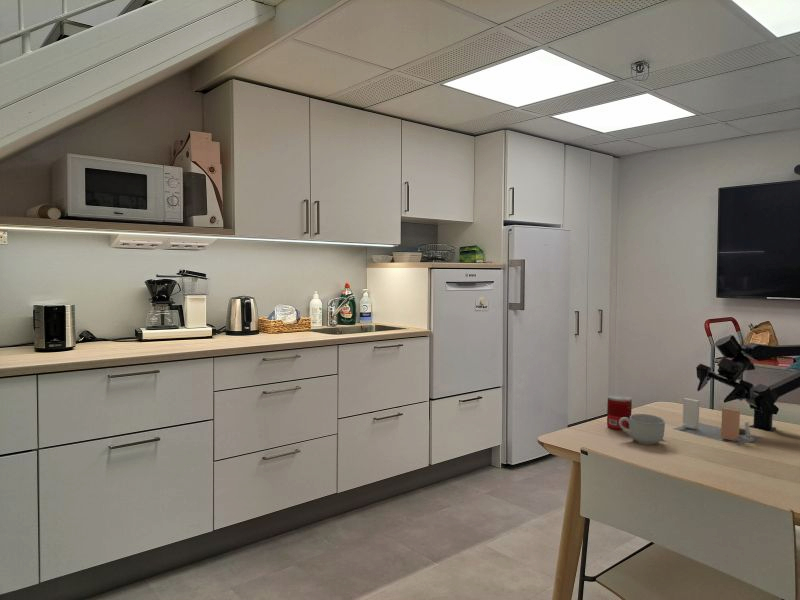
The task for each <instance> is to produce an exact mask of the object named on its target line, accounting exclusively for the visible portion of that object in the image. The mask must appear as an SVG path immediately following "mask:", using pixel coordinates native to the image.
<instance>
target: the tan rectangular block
mask: <svg viewBox="0 0 800 600" xmlns="http://www.w3.org/2000/svg"><path fill="white" fill-rule="evenodd" d="M740 419H741V410H739V409H734V408H729V407H722V409H721V427H720V428H721V435H722V436H721V438H724V439H728V440H732V441H735V440H738V439H739V428H740V421H741V420H740Z"/></svg>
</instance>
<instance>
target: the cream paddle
mask: <svg viewBox="0 0 800 600" xmlns="http://www.w3.org/2000/svg"><path fill="white" fill-rule="evenodd" d="M682 403H683V407H682V408H683V410H682V426H683V427H687V428H691V429H696V428H698V427H699V423H700V422H699V420H700V400H697V399H693V398H692V399H691V398H688V397H687V398H686V397H684V398H683V402H682Z"/></svg>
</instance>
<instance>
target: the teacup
mask: <svg viewBox="0 0 800 600" xmlns="http://www.w3.org/2000/svg"><path fill="white" fill-rule="evenodd" d="M624 420H626V421H627V422H628V424H629V426H630V427H629V428H625V427H623V425H622V421H624ZM619 426H620V427H621V428H622V429H623V430H624V432H626V433H627V435H629V436H631V438H632V439H633V440H634V441H635V442H637V443H639V444H643V445H649V446H650V445H657V444H658V443H660V442H661V441H662V440H663V439H664V437H665V426H666V420H665V419H664V418H662V417H660V416H657V415H653V414H647V413H634V414H631V416H630V419H629V418H627V417H622V418H621V419H620V420H619ZM628 429H629V430H628ZM623 430H622V431H623Z"/></svg>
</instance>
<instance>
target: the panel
mask: <svg viewBox="0 0 800 600" xmlns="http://www.w3.org/2000/svg"><path fill="white" fill-rule="evenodd" d="M749 426H750V423H749V421H745V422H744V427H745V429H744V428H741V427H739V439H738V440H735V441H732V440H728V439H724V438H721V436H722V435H721V427H719V426H715V425H711V424H710V425H709V424H706V423H702V422H699V427H698V428H696V429H691V428H687V427H683V425H682V426H678V427H674V428H672V430H675V431H680V432H684V433H687V434H692V435H695V436H701V437H703V438H708V439H713V440H716V441H721V442H724V443H729V444H733V445H737V446H741V445H744V444H747V443H752V442H754V441H756V440H760V439H762V438H763V436H758V435H754V434H751V431H750V430H751V429H750V428H751V427H749ZM763 439H764V438H763Z"/></svg>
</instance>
